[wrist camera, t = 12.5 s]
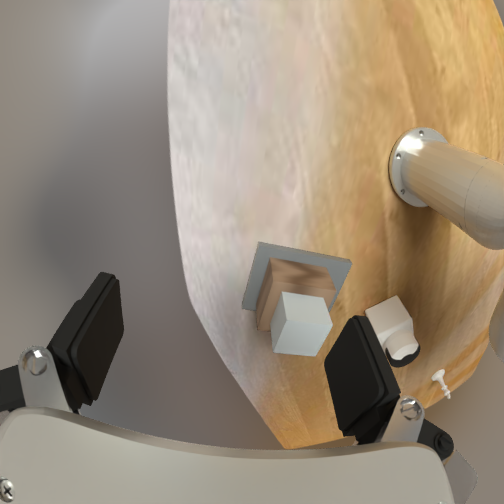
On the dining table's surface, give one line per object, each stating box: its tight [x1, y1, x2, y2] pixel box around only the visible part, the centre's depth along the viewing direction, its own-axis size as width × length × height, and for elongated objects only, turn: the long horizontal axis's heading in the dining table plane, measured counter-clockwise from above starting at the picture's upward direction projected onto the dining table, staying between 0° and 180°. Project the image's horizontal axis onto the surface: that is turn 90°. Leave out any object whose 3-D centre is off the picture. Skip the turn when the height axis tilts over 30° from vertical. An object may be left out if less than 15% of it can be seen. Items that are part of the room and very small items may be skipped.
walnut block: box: [256, 257, 337, 332], centre depth 40 cm, size 9×9×6 cm
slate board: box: [242, 242, 352, 312], centre depth 44 cm, size 15×12×1 cm
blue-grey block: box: [270, 292, 333, 356], centre depth 35 cm, size 6×6×6 cm
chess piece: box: [431, 369, 450, 399], centre depth 59 cm, size 5×5×10 cm
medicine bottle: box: [365, 295, 420, 367], centre depth 43 cm, size 7×7×12 cm
